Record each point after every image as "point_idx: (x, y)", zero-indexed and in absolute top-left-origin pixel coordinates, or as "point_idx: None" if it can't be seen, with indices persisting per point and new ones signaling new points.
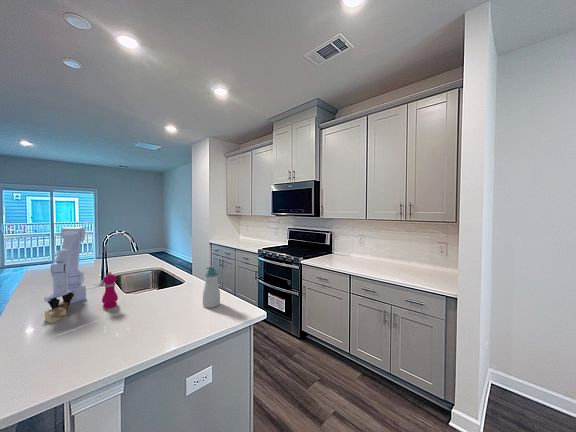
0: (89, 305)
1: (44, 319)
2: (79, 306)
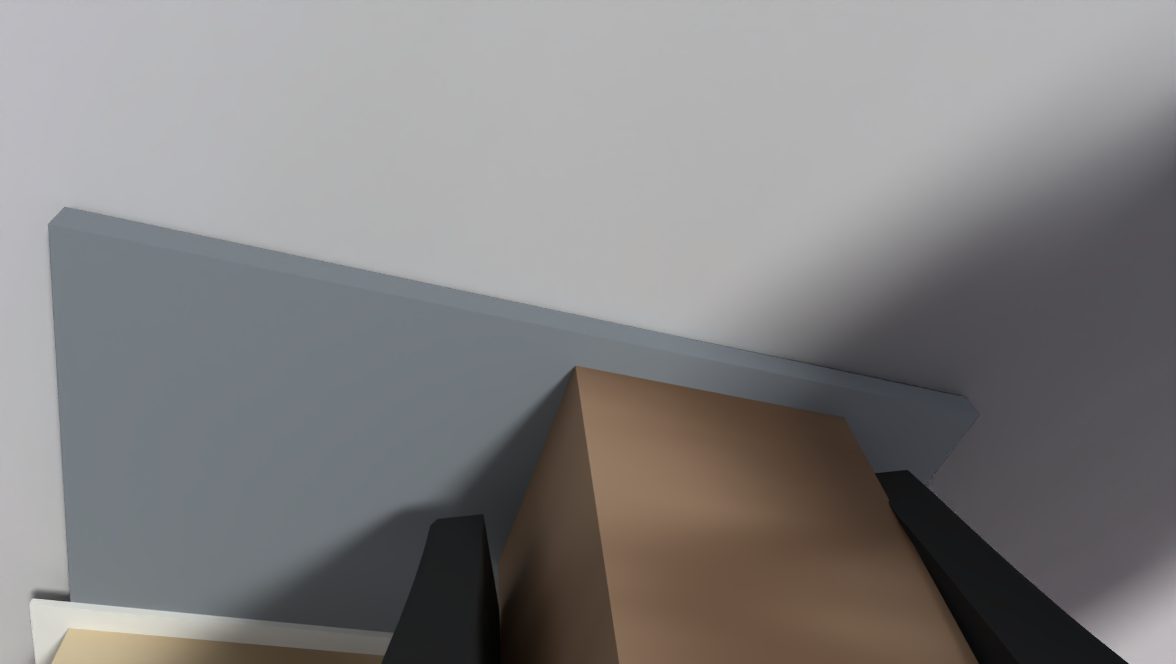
0: (1121, 650)
1: (46, 635)
2: (1097, 528)
